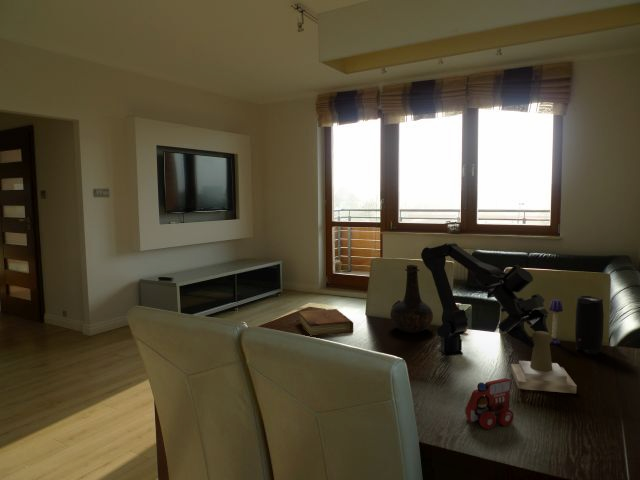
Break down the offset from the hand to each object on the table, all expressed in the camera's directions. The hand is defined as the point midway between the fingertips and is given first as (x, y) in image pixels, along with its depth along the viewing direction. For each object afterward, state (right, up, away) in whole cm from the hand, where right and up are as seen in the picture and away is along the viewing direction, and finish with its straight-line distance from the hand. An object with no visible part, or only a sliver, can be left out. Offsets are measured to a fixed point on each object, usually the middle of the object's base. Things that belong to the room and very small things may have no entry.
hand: (541, 343), depth 136 cm
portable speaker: (+30, -9, +27) cm, 42 cm away
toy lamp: (+23, -8, +37) cm, 45 cm away
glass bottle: (-27, -8, +58) cm, 65 cm away
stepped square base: (0, -11, +1) cm, 11 cm away
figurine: (-8, -8, +53) cm, 54 cm away
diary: (-64, -8, +64) cm, 91 cm away
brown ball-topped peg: (0, -8, +1) cm, 8 cm away
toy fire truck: (-25, -14, -24) cm, 37 cm away
